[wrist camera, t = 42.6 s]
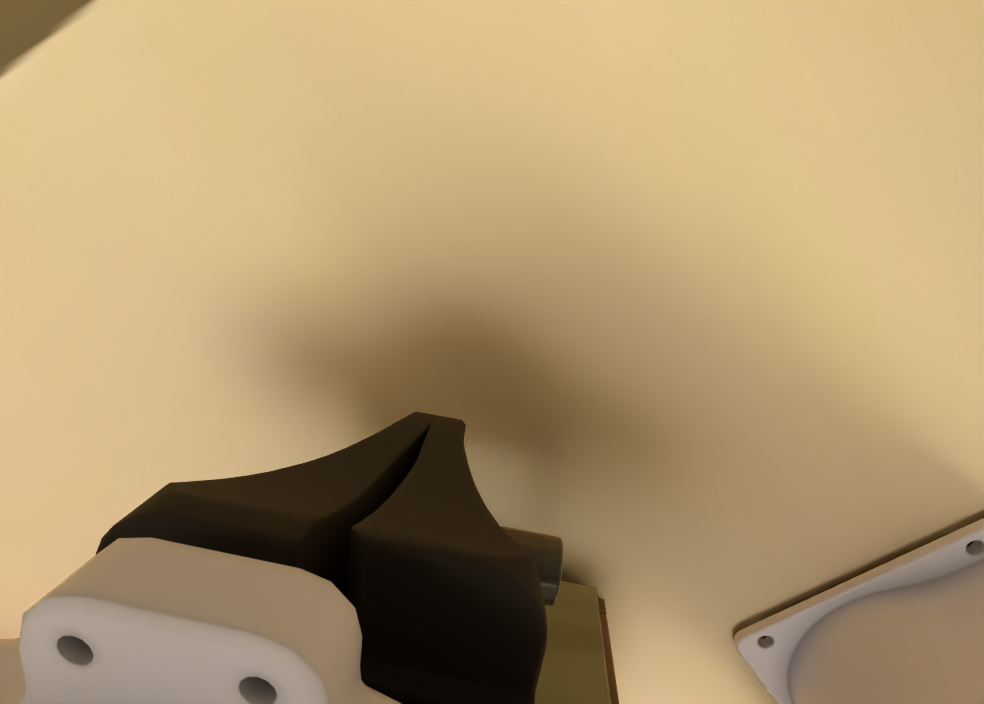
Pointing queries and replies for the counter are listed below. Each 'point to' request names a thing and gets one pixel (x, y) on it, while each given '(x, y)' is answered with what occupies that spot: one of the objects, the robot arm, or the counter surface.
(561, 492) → the counter surface
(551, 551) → the drawer
